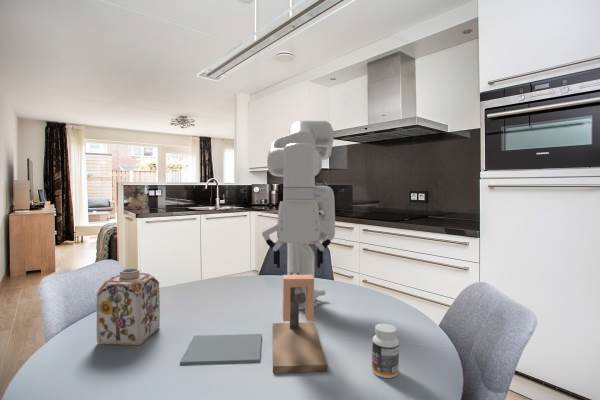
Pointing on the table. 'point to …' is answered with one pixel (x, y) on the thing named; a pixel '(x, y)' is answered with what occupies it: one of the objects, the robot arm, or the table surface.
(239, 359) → the mat
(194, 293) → the table surface
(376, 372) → the pill bottle
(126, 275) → the decorative jar
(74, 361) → the table surface
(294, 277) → the link
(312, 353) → the stand
